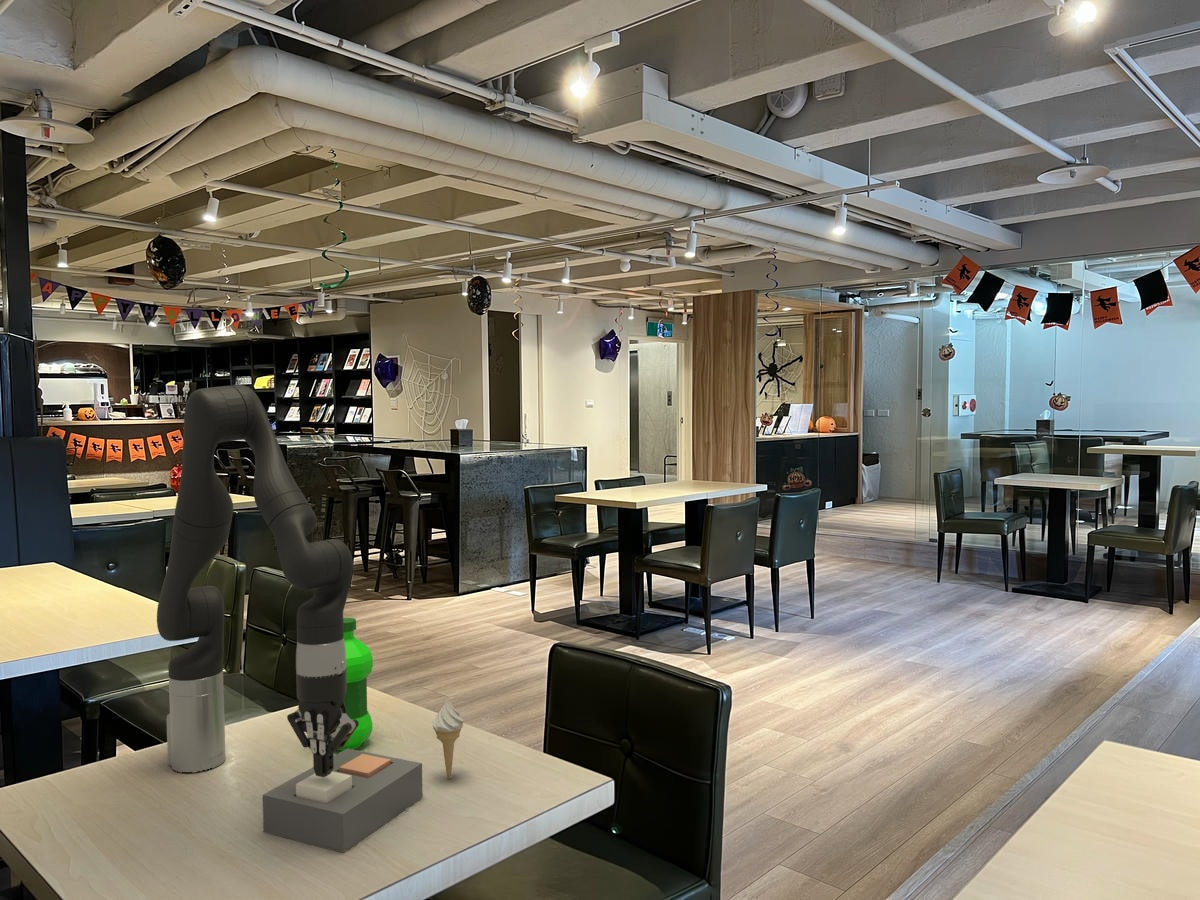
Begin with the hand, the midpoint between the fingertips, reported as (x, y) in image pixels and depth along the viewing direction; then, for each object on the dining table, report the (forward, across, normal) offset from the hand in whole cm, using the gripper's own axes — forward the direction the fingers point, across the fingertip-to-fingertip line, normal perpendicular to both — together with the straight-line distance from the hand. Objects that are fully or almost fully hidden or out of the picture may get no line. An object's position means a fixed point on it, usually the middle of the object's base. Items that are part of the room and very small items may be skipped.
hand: (323, 774), depth 139 cm
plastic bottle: (+9, -19, +28) cm, 35 cm away
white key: (+4, 0, 0) cm, 4 cm away
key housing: (+9, 0, +5) cm, 10 cm away
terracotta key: (+5, 0, +10) cm, 11 cm away
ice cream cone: (+9, +8, +23) cm, 26 cm away
